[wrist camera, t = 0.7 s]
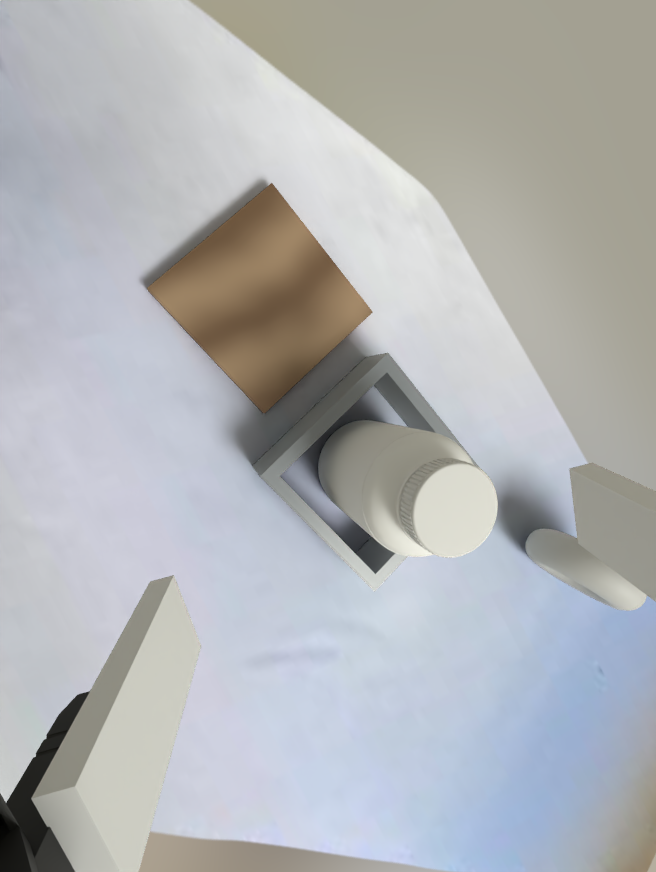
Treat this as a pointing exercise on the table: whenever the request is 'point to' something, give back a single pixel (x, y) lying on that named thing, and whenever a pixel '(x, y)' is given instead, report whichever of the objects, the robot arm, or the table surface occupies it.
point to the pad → (262, 298)
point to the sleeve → (373, 370)
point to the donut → (581, 569)
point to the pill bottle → (408, 488)
